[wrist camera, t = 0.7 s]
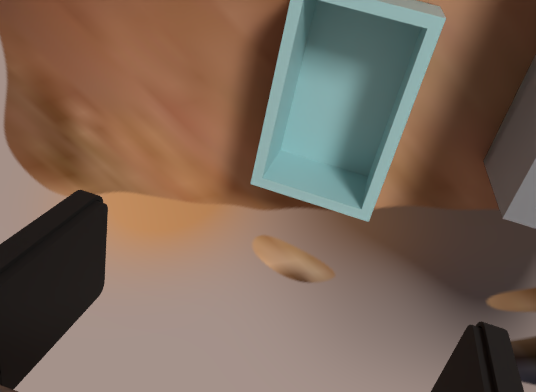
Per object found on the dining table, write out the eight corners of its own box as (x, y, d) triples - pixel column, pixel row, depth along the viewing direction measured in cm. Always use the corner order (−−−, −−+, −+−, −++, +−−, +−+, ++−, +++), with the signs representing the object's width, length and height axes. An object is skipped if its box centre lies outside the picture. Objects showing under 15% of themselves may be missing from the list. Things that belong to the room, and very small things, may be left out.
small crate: (314, -26, 26) (294, -21, 22) (440, 6, 25) (445, 18, 21) (272, 152, 32) (250, 183, 27) (374, 183, 31) (368, 221, 26)
